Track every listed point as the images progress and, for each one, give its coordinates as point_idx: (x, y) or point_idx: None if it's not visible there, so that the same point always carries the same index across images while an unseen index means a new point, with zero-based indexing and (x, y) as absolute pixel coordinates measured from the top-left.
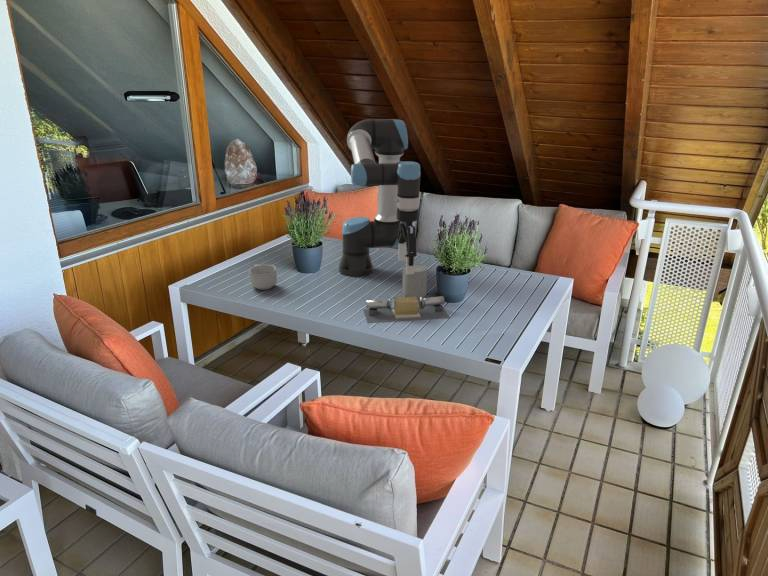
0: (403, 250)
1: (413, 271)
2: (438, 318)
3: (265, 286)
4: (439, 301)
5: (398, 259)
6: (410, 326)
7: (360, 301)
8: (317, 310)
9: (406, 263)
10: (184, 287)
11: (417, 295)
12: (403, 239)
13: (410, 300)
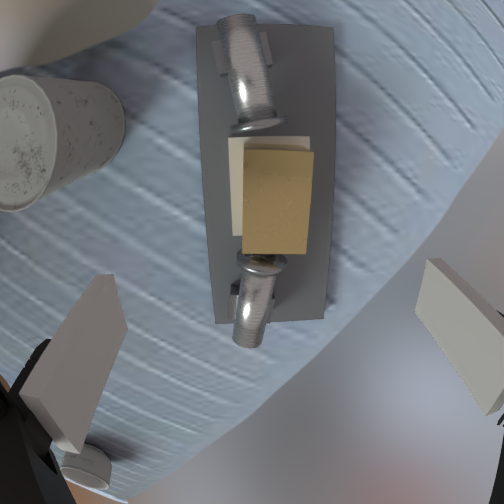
0: (83, 361)
1: (450, 272)
2: (331, 70)
3: (108, 460)
4: (260, 39)
5: (120, 336)
6: (352, 183)
7: (129, 314)
8: (199, 405)
9: (459, 364)
10: (124, 499)
11: (114, 118)
12: (53, 483)
13: (290, 186)
